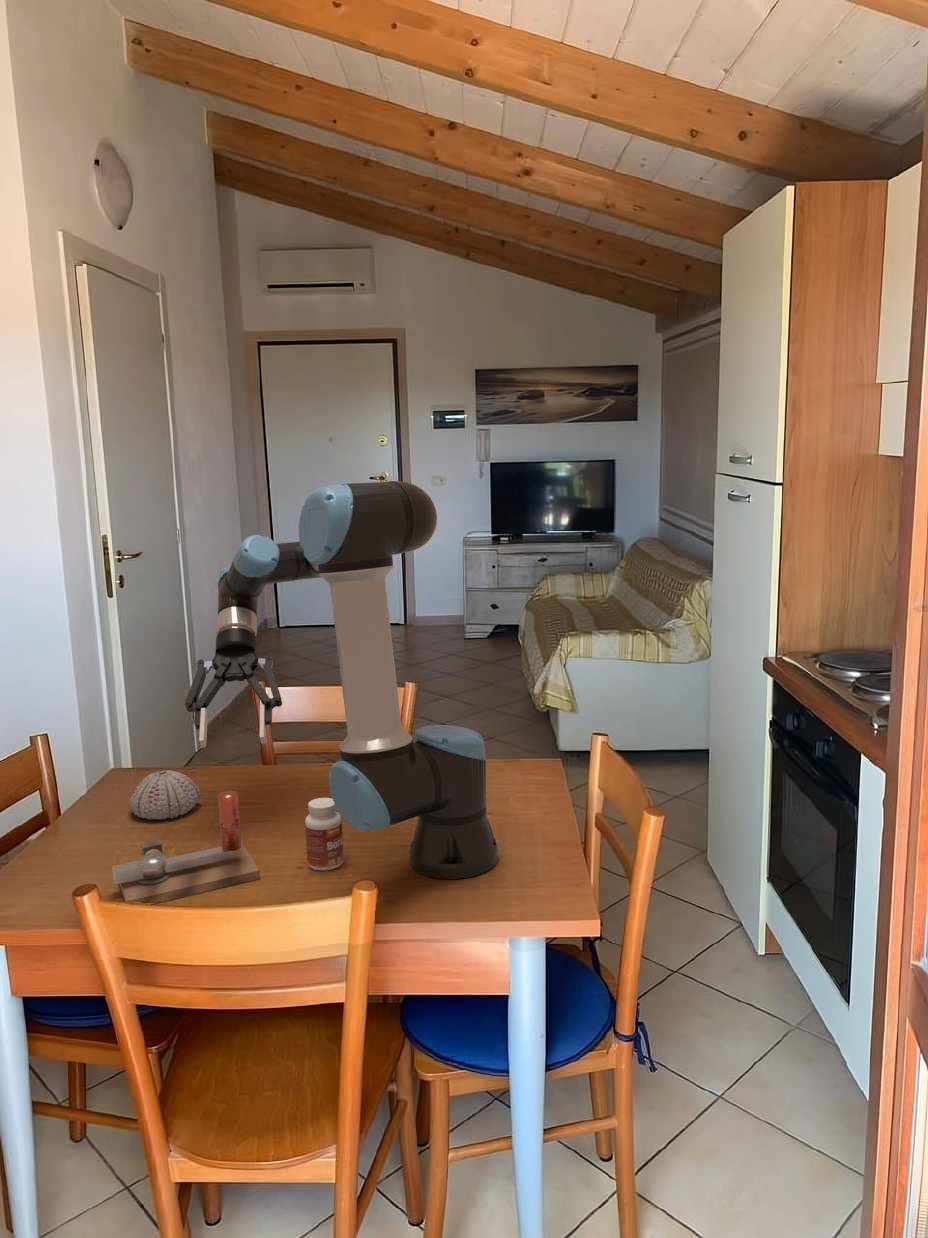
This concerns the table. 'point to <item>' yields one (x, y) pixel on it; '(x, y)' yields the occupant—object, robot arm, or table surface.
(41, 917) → the table surface
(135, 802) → the sea urchin shell
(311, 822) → the pill bottle
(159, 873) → the lever
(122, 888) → the cracker base
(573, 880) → the table surface
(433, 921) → the table surface
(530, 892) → the table surface
